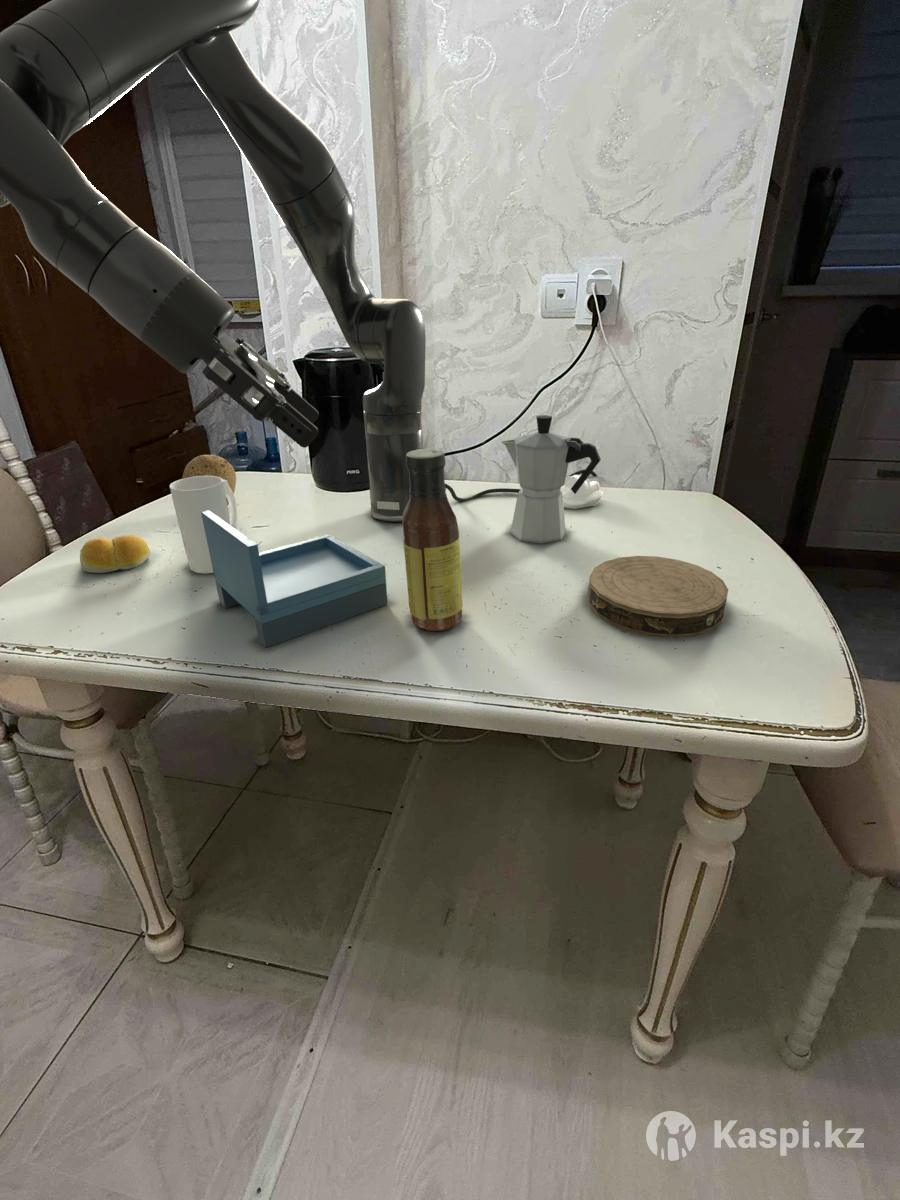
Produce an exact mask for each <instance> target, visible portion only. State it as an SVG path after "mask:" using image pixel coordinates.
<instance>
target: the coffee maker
mask: <svg viewBox="0 0 900 1200" xmlns="http://www.w3.org/2000/svg"><path fill="white" fill-rule="evenodd" d="M552 420H553V416H552V415H547V414H544V415H543V414H541V415H540V414H539V415H536V426H537V432H534V433H529V434H526V435H523V436H519V437H515V438H513V439H508V440H503V441H501V442H500V443H501V444H502V445H504V446H505V448H506V449H507V452H508V454H509V456H510V458H511V460H512V462H513V464H514V466H515V471H516V476H517V477H516V478H517V482H518V484H519V487H520V488H519V489H520V491H519V492H518V493H517V497H516V502H515V505H514V512H513V517H512V522H511V528H510V532H509V534H510V535H512V536H513V537H515V538H516V539H517V540H519V541H520V542H528V543H533V544H534V543H535V544H546V543H552V542H558V541H562V539H563V538H564V536H565V535H566V533H567V530H566V529H567V528H566V518H565V507H563V496H562V492H561V491H560V489H561V487H562V486H563V485H564V483H565V478H566V476H567V473H568V468H569V464H570V463H573V462H577V461H580V460H583V459H586V458H589V459H590V462H589V464H588V465H587V467H586V468H585V469H584V470H585V471H584V472H583V473H582V474H580V475H581V476H580V477H579V479H578V480H577V481H576V483H575V484H574V485H573V487H572V488H571V490H572V491H573V492H574V494H576V492H577V491H578V490H579V488H580V487H581V486H582V484H583V483H584V482H585V480H586V479H587V478H588V479H589V477H590V475H592V474H591V472H592V471H593V472H594V470H595V468H596V467H597V465H598V464H599V463H600V462H601V461H602V460H601V459H602V458H601V457H600V454H599V451H598V448H597V447H596V445H594V444H592V443H590V442H584V441H582V439H581V438H580V437H568V436H564V435H561V434H556V433H554V432H550V429H551V425H552Z"/></svg>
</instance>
